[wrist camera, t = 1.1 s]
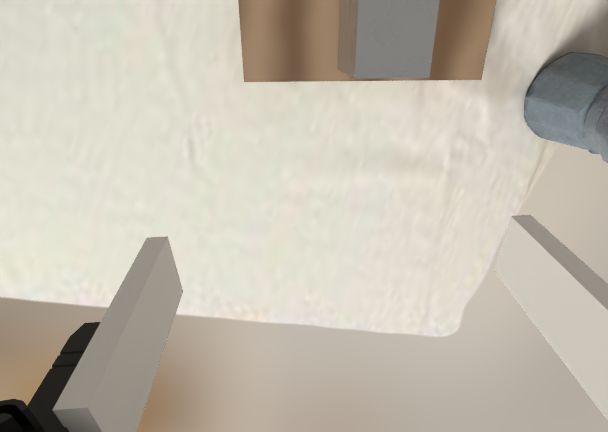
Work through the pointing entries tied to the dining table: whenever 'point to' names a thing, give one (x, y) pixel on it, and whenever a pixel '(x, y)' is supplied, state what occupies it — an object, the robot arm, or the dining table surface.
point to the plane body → (324, 40)
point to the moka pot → (571, 102)
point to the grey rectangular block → (386, 38)
